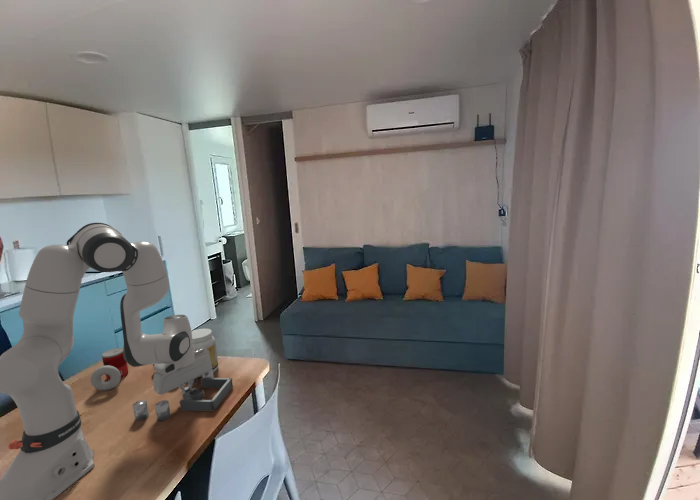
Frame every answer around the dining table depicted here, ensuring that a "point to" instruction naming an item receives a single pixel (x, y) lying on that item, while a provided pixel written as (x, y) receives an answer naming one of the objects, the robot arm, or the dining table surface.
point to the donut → (103, 385)
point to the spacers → (159, 405)
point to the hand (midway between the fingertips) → (187, 392)
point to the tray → (209, 404)
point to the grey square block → (194, 394)
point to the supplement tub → (205, 345)
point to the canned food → (115, 361)
